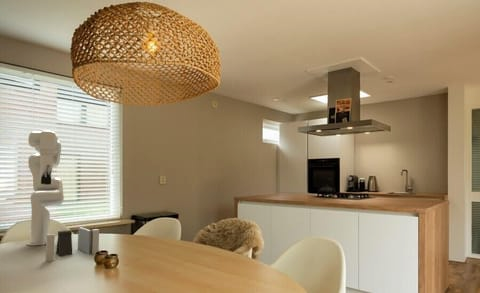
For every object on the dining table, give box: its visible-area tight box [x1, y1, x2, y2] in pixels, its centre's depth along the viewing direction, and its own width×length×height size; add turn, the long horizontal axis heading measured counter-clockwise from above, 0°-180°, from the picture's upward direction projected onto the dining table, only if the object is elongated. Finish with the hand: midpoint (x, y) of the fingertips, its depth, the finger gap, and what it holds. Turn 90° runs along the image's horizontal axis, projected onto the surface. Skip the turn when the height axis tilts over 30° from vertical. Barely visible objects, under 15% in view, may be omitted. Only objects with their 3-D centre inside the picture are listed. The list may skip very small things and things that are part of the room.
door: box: [77, 226, 92, 255], centre depth 179 cm, size 17×2×13 cm, turn 45°
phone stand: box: [55, 229, 73, 257], centre depth 174 cm, size 9×6×12 cm, turn 40°
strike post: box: [45, 233, 56, 262], centre depth 161 cm, size 3×3×12 cm
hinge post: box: [90, 228, 100, 255], centre depth 174 cm, size 3×3×12 cm
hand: (45, 184), depth 181 cm, fingers open, 9 cm apart
